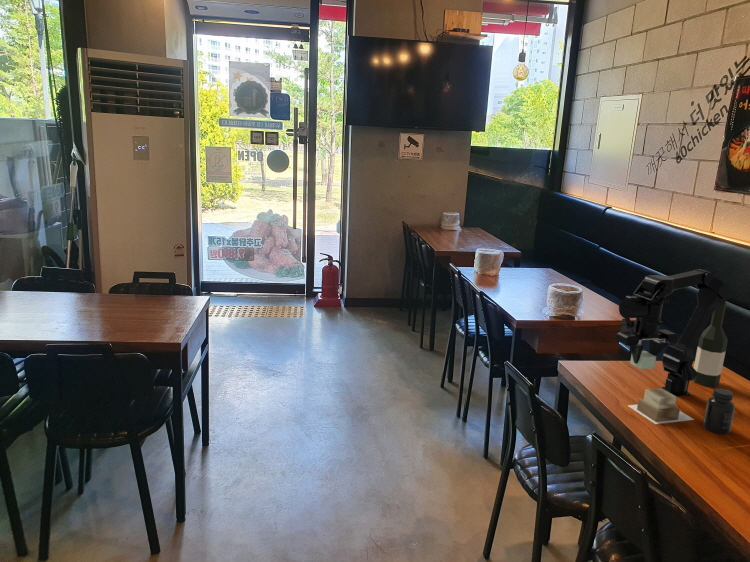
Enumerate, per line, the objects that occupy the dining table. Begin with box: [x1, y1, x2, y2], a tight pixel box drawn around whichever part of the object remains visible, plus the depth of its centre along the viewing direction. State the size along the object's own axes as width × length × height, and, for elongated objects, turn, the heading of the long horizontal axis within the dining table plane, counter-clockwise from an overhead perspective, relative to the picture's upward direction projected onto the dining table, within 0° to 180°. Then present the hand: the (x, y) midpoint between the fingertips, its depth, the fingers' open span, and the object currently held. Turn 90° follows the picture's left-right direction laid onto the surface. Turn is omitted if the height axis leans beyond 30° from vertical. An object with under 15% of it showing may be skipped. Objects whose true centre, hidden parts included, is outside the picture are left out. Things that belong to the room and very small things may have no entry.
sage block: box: [629, 350, 657, 370], centre depth 179 cm, size 5×5×4 cm
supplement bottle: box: [703, 388, 736, 436], centre depth 161 cm, size 7×7×12 cm
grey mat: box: [627, 403, 695, 425], centre depth 171 cm, size 14×12×1 cm
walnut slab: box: [636, 398, 681, 422], centre depth 170 cm, size 8×8×4 cm
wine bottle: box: [692, 302, 729, 388], centre depth 193 cm, size 8×8×30 cm
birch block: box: [643, 387, 678, 409], centre depth 169 cm, size 6×6×4 cm
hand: (642, 362), depth 179 cm, fingers closed on sage block, 5 cm apart
